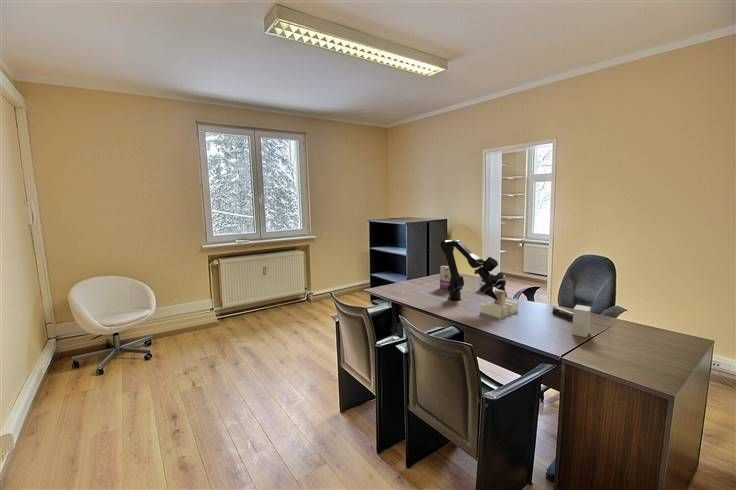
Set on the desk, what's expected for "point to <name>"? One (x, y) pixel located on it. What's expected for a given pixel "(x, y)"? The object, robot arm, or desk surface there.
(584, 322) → the small box
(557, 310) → the brown flat box
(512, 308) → the rack
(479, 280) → the ink box
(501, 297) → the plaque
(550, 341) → the desk surface
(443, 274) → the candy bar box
